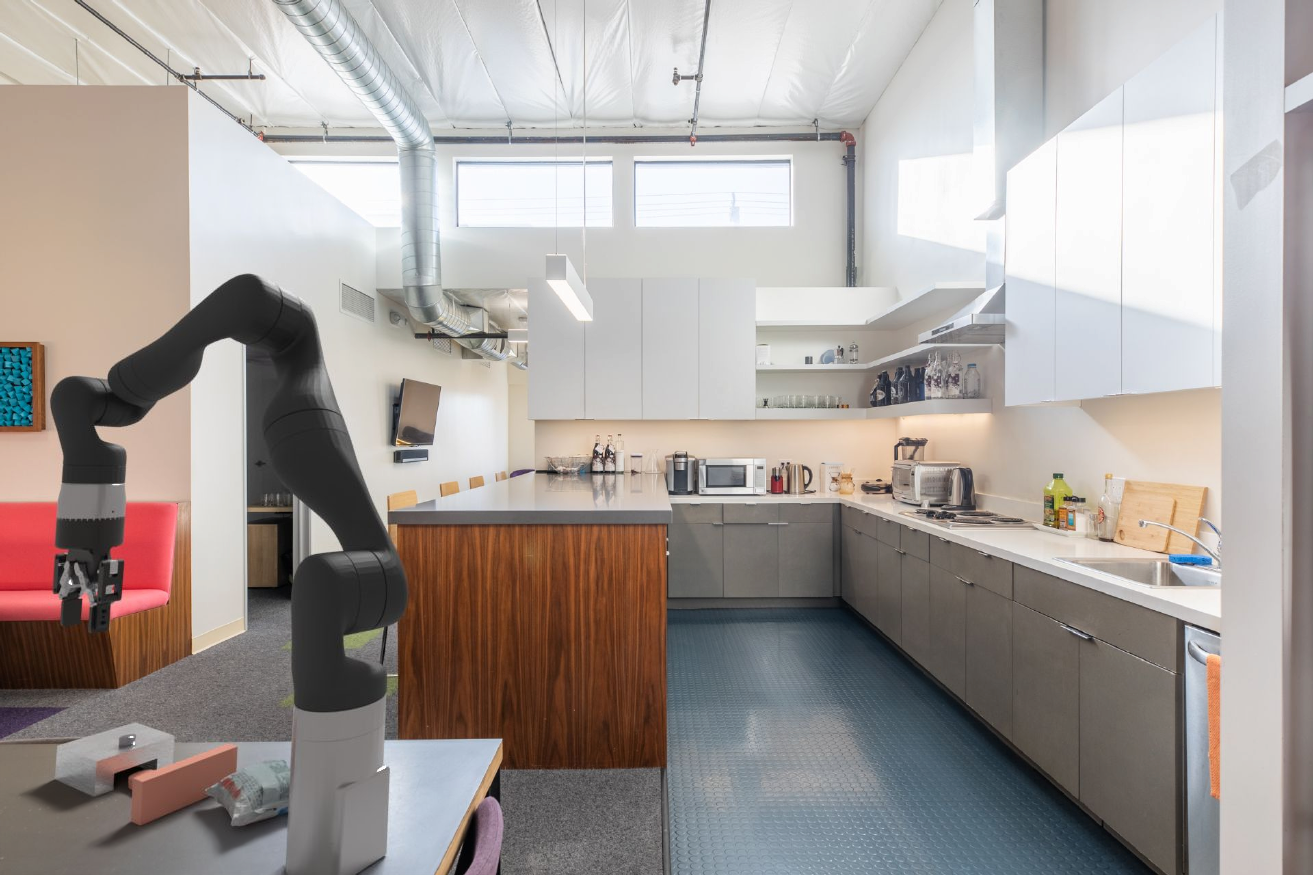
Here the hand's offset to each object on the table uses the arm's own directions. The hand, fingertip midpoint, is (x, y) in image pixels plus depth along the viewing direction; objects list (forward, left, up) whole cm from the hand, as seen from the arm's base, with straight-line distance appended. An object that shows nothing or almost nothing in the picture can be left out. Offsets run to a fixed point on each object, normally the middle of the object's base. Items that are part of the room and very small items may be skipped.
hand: (84, 628), depth 93 cm
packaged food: (-36, -3, -19) cm, 41 cm away
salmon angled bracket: (-22, 0, -18) cm, 28 cm away
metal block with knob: (-10, 0, -19) cm, 21 cm away
